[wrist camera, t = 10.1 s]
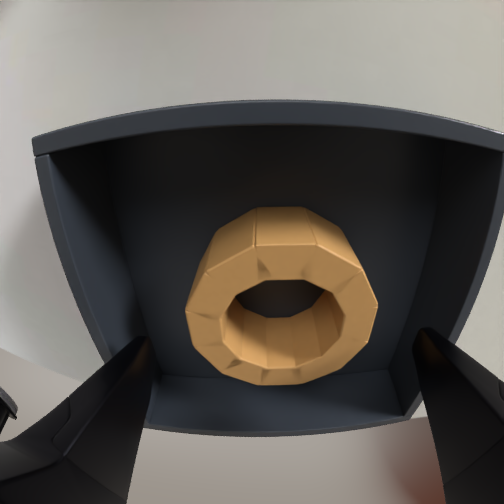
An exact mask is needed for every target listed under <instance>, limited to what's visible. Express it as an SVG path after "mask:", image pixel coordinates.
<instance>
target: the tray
mask: <svg viewBox="0 0 504 504" xmlns="http://www.w3.org/2000/svg"><path fill="white" fill-rule="evenodd" d="M32 146H33V153H34V156H36V158H35V164H36V170H37V175H38V180H39V184H40V189H41V194H42V198H43V202H44V206H45V210H46V214H47V218H48V221H49V225H50V228H51V232H52V235H53V239H54V242H55V245H56V248H57V251H58V255H59V258H60V261H61V263H62V266H63V269H64V272H65V275H66V278H67V280H68V283H69V286H70V288H71V291H72V293H73V296H74V298H75V301H76V303H77V306H78V308H79V310H80V313H81V315H82V317H83V320H84V322H85V324H86V326H87V328H88V331H89V333H90V335H91V337H92V339H93V341H94V343H95V345H96V347H97V349H98V351H99V353H100V355H101V357H102V359H103V361H104V363H107V362H108V361H109V360H110V359H111V358H112V357H113V356H114V355H116V354H117V353H118V352H119V351H120V350H121V349H122V348H124V347H125V346H126V345H127V344H128V343H129V342H130V341H132V340H133V339H134V338H135V337H136V336H138V335H144V336H149V337H150V338H151V340H152V343H153V346H154V349H155V352H156V364H155V370H154V377H153V384H152V391H151V397H150V402H149V406H148V410H147V414H146V418H145V422H144V426H143V428H149V429H155V430H162V431H170V432H179V433H188V434H199V435H213V436H235V437H238V436H239V437H278V436H299V435H314V434H325V433H334V432H343V431H350V430H357V429H364V428H370V427H376V426H381V425H387V424H392V423H397V422H402V421H406V420H409V419H410V418H411V417H412V415H413V414H414V412H415V411H416V409H417V408H418V407H419V405H420V404H421V402H422V400H423V397H422V394H421V391H420V387H419V382H418V377H417V372H416V367H415V362H414V358H413V353H412V344H413V342H414V339H415V337H416V335H417V332H418V330H419V329H420V328H423V327H431V328H433V329H434V330H435V331H437V332H438V333H440V334H441V335H442V336H444V337H445V338H446V339H448V340H449V341H450V342H452V343H453V344H454V345H455V344H456V342H457V340H458V338H459V336H460V334H461V331H462V329H463V327H464V325H465V323H466V321H467V319H468V316H469V314H470V312H471V310H472V307H473V305H474V303H475V300H476V298H477V295H478V293H479V290H480V288H481V285H482V282H483V280H484V277H485V274H486V271H487V269H488V266H489V263H490V260H491V257H492V254H493V250H494V247H495V244H496V240H497V237H498V233H499V230H500V226H501V222H502V218H503V214H504V133H502V132H499V131H496V130H493V129H489V128H486V127H482V126H479V125H475V124H471V123H467V122H464V121H459V120H455V119H451V118H447V117H442V116H437V115H432V114H427V113H422V112H416V111H411V110H405V109H398V108H391V107H384V106H376V105H368V104H358V103H347V102H334V101H316V100H239V101H222V102H208V103H197V104H187V105H179V106H170V107H163V108H156V109H149V110H143V111H137V112H132V113H126V114H121V115H116V116H111V117H106V118H102V119H97V120H93V121H88V122H84V123H80V124H76V125H73V126H69V127H65V128H61V129H58V130H55V131H51V132H48V133H44V134H41V135H38V136H35V137H33V138H32ZM257 207H304V208H307V209H308V210H310V211H312V212H314V213H315V214H317V215H319V216H321V217H323V218H324V219H326V220H328V221H330V222H331V223H333V224H335V225H336V226H338V227H339V228H340V229H341V230H342V231H343V233H344V235H345V237H346V238H347V240H348V242H349V244H350V246H351V248H352V249H353V251H354V253H355V255H356V257H357V259H358V260H359V262H360V264H361V266H362V268H363V270H364V272H365V274H366V277H367V279H368V281H369V283H370V286H371V288H372V290H373V293H374V295H375V297H376V300H377V302H378V308H377V312H376V316H375V320H374V323H373V327H372V330H371V334H370V337H369V340H368V343H367V344H366V345H365V346H364V347H363V348H362V349H361V350H360V351H359V352H358V353H357V354H356V355H355V356H354V357H353V358H352V359H351V360H349V361H348V362H347V363H346V364H345V365H344V366H343V367H342V368H341V369H339V370H337V371H334V372H332V373H329V374H327V375H324V376H322V377H319V378H317V379H314V380H311V381H309V382H306V383H303V384H301V383H300V384H294V385H255V384H252V383H249V382H246V381H243V380H240V379H237V378H234V377H231V376H228V375H225V374H222V373H221V372H220V371H218V370H217V369H216V368H215V367H214V366H213V365H212V364H211V363H210V362H209V361H208V360H207V359H205V358H204V357H203V356H202V355H201V354H200V353H199V352H198V351H197V350H196V349H195V348H194V346H193V345H192V341H191V336H190V332H189V328H188V323H187V319H186V314H185V310H186V309H185V307H186V304H187V301H188V298H189V294H190V291H191V288H192V285H193V282H194V279H195V276H196V273H197V270H198V267H199V264H200V261H201V259H202V257H203V255H204V254H205V252H206V250H207V248H208V246H209V244H210V242H211V240H212V238H213V236H214V234H215V232H216V231H218V229H219V228H221V227H223V226H224V225H226V224H228V223H230V222H231V221H233V220H235V219H237V218H238V217H240V216H242V215H243V214H245V213H247V212H249V211H250V210H252V209H254V208H257ZM324 291H325V289H323V288H321V287H318V286H316V285H314V284H312V283H310V282H308V281H306V280H265V281H263V282H261V283H259V284H257V285H255V286H253V287H251V288H249V289H247V290H245V291H243V292H241V293H239V294H237V295H236V296H235V298H236V299H237V300H238V302H239V303H240V304H241V305H242V306H243V308H245V309H247V310H249V311H252V312H254V313H256V314H259V315H261V316H264V317H266V318H279V317H291V316H294V315H296V314H298V313H300V312H302V311H304V310H307V309H309V308H311V307H312V306H313V305H314V303H315V302H316V301H317V300H318V298H319V297H320V296H321V295H322V293H323V292H324Z"/></svg>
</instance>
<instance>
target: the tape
mask: <svg viewBox="0 0 504 504" xmlns="http://www.w3.org/2000/svg"><path fill="white" fill-rule="evenodd" d="M265 280H306V281H308V282H310V283H312V284H314V285H316V286H318V287H321V288H323V289H325V291H324V292H323V293H322V295H321V296H320V297H319V298H318V300H317V301H316V302H315V303H314V305H313V306H312V307H311V308H309V309H307V310H304V311H302V312H300V313H298V314H296V315H294V316H291V317H279V318H266V317H264V316H261V315H259V314H256V313H254V312H252V311H249V310H247V309H245V308H243V306H242V305H241V304H240V303H239V302H238V300H237V299H236V298H235V296H236V295H237V294H239V293H241V292H243V291H245V290H247V289H249V288H251V287H253V286H255V285H257V284H259V283H261V282H263V281H265ZM377 308H378V302H377V300H376V297H375V295H374V293H373V290H372V288H371V286H370V283H369V281H368V279H367V277H366V274H365V272H364V270H363V268H362V266H361V264H360V262H359V260H358V259H357V257H356V255H355V253H354V251H353V249H352V248H351V246H350V244H349V242H348V240H347V238H346V237H345V235H344V233H343V231H342V230H341V229H340V228H339V227H338V226H336V225H335V224H333V223H331V222H330V221H328V220H326V219H324V218H323V217H321V216H319V215H317V214H315V213H314V212H312V211H310V210H308V209H307V208H304V207H257V208H254V209H252V210H250V211H249V212H247V213H245V214H243V215H242V216H240V217H238V218H237V219H235V220H233V221H231V222H230V223H228V224H226V225H224V226H223V227H221V228H219V229H218V231H216V232H215V234H214V236H213V238H212V240H211V242H210V244H209V246H208V248H207V250H206V252H205V254H204V255H203V257H202V259H201V261H200V264H199V267H198V270H197V273H196V276H195V279H194V282H193V285H192V288H191V291H190V294H189V298H188V301H187V304H186V307H185V309H186V310H185V314H186V319H187V323H188V328H189V332H190V336H191V341H192V345H193V346H194V348H195V349H196V350H197V351H198V352H199V353H200V354H201V355H202V356H203V357H204V358H205V359H207V360H208V361H209V362H210V363H211V364H212V365H213V366H214V367H215V368H216V369H217V370H218V371H220V372H221V373H222V374H225V375H228V376H231V377H234V378H237V379H240V380H243V381H246V382H249V383H252V384H255V385H294V384H300V383H301V384H303V383H306V382H309V381H311V380H314V379H317V378H319V377H322V376H324V375H327V374H329V373H332V372H334V371H337V370H339V369H341V368H342V367H343V366H344V365H345V364H346V363H347V362H348V361H349V360H351V359H352V358H353V357H354V356H355V355H356V354H357V353H358V352H359V351H360V350H361V349H362V348H363V347H364V346H365V345H366V344H367V343H368V340H369V337H370V334H371V330H372V327H373V323H374V320H375V316H376V312H377Z"/></svg>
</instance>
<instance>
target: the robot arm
mask: <svg viewBox="0 0 504 504" xmlns="http://www.w3.org/2000/svg"><path fill="white" fill-rule="evenodd" d="M412 353H413V358H414V362H415V367H416V372H417V377H418V382H419V387H420V391H421V394H422V397H423V401H424V404H425V408H426V412H427V415H428V419H429V423H430V427H431V431H432V434H433V439H434V443H435V447H436V451H437V456H438V461H439V466H440V471H441V476H442V481H443V484H444V485H443V487H444V494H445V501H446V504H504V382H503V381H501V380H500V379H498V378H497V377H496V376H495V375H494V374H492V373H491V372H490V371H489V370H487V369H486V368H485V367H483V366H482V365H481V364H479V363H478V362H477V361H476V360H474V359H473V358H472V357H470V356H469V355H468V354H466V353H465V352H464V351H462V350H461V349H460V348H458V347H457V346H456V345H454V344H453V343H452V342H450V341H449V340H448V339H446V338H445V337H444V336H442V335H441V334H440V333H438V332H437V331H435V330H434V329H433V328H431V327H423V328H420V329H419V330H418V332H417V335H416V337H415V339H414V342H413V344H412ZM155 364H156V352H155V349H154V346H153V343H152V340H151V338H150V337H149V336H144V335H138V336H136V337H135V338H134V339H133V340H132V341H130V342H129V343H128V344H127V345H126V346H125V347H124V348H122V349H121V350H120V351H119V352H118V353H117V354H116V355H114V356H113V357H112V358H111V359H110V360H109V361H108V362H107V363H105V364H104V365H103V366H102V367H101V368H100V369H99V370H97V371H96V372H95V373H94V374H93V375H92V376H91V377H90V378H88V379H87V380H86V381H85V382H84V383H83V384H82V385H81V386H79V387H78V388H77V389H76V390H75V391H74V392H73V393H72V394H71V395H70V396H69V397H67V398H66V399H65V400H64V401H62V402H61V403H60V404H59V405H58V406H57V407H56V408H55V409H53V410H52V411H51V412H50V413H48V414H47V415H46V416H44V417H43V418H42V419H40V420H39V421H38V422H36V423H35V424H34V425H32V426H31V427H29V428H28V429H27V430H25V431H24V432H22V433H21V434H20V435H18V436H17V437H15V438H13V439H11V440H8V441H4V442H0V504H126V503H127V497H128V492H129V487H130V483H131V477H132V473H133V468H134V464H135V459H136V455H137V451H138V446H139V442H140V438H141V434H142V430H143V426H144V422H145V418H146V414H147V410H148V406H149V402H150V397H151V391H152V384H153V377H154V370H155ZM8 417H11V418H13V419H15V420H16V419H17V417H16V415H15V414H14V413H13V412H12V411H11V410H10V409H9V408H8V407H7V405H6V404H5V403H4V402H3V401H2V400H1V398H0V434H1V431H2V429H3V427H4V425H5V423H6V421H7V419H8Z"/></svg>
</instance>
